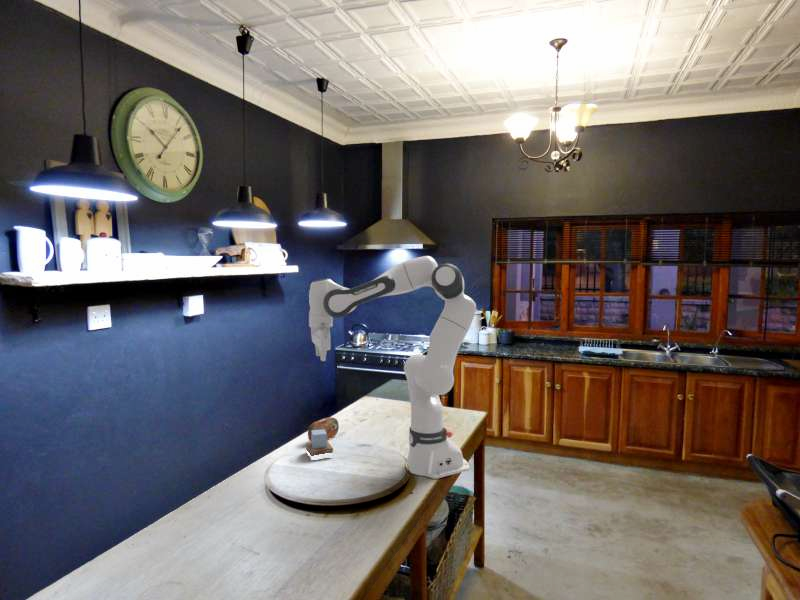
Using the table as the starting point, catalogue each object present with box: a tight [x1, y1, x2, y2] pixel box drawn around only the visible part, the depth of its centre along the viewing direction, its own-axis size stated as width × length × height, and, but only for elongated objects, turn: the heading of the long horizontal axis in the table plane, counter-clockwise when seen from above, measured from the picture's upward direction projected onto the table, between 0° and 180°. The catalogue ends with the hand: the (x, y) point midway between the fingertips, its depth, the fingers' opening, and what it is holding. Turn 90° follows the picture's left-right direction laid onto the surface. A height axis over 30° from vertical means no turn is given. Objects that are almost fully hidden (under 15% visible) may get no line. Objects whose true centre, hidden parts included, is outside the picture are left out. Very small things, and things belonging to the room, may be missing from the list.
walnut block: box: [305, 440, 334, 456], centre depth 179 cm, size 8×8×4 cm
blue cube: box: [310, 429, 328, 448], centre depth 179 cm, size 5×5×5 cm
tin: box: [307, 417, 340, 442], centre depth 194 cm, size 15×3×8 cm, turn 143°
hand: (320, 358), depth 183 cm, fingers open, 8 cm apart
